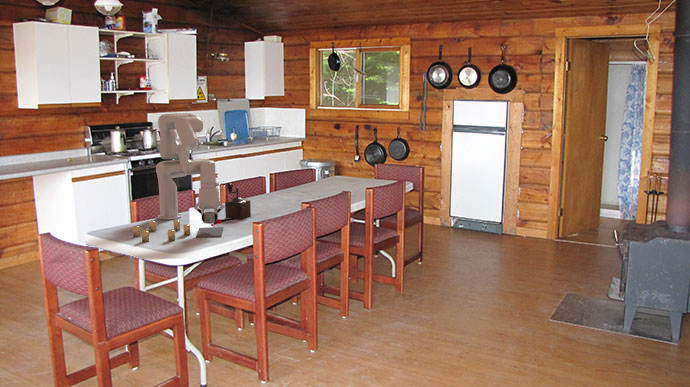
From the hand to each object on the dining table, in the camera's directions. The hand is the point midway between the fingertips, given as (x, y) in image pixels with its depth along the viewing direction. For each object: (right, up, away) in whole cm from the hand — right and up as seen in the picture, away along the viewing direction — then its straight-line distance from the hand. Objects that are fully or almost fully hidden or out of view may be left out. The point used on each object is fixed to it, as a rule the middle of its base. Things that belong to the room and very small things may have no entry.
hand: (209, 221), depth 307 cm
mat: (0, -6, +1) cm, 6 cm away
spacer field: (-23, -7, -4) cm, 24 cm away
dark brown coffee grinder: (+6, +1, +39) cm, 39 cm away
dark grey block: (0, 0, 0) cm, 1 cm away
